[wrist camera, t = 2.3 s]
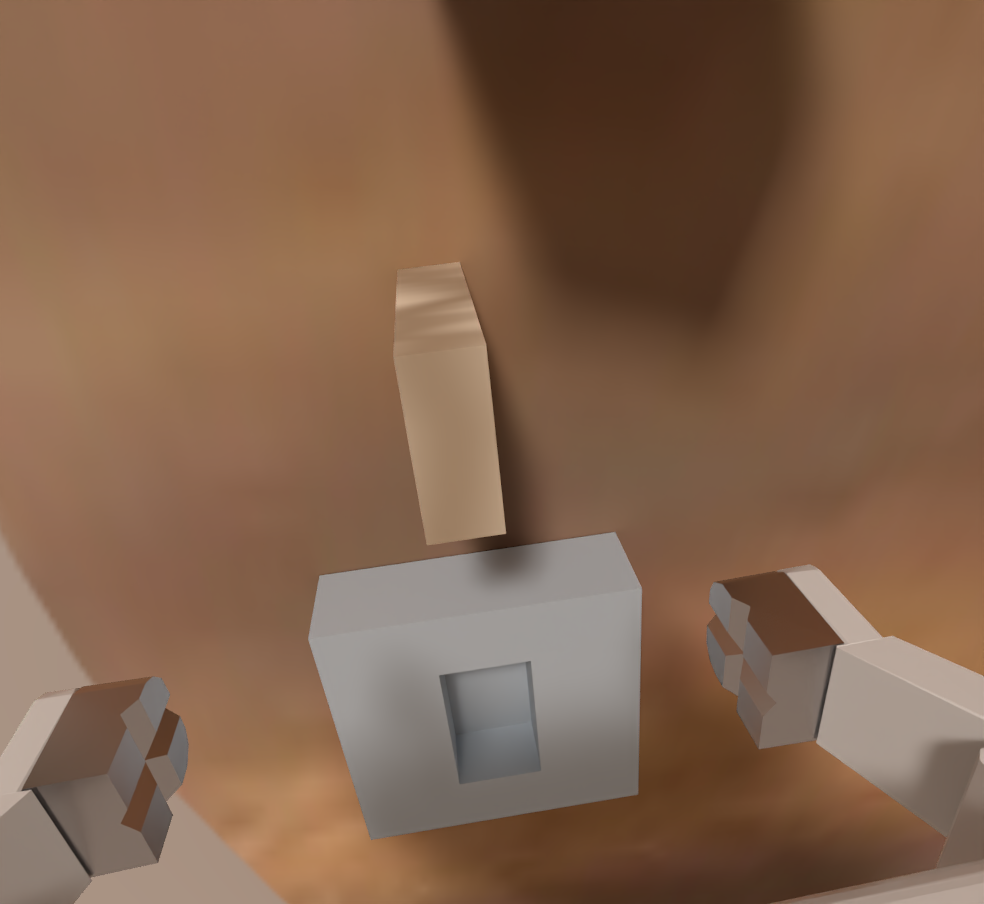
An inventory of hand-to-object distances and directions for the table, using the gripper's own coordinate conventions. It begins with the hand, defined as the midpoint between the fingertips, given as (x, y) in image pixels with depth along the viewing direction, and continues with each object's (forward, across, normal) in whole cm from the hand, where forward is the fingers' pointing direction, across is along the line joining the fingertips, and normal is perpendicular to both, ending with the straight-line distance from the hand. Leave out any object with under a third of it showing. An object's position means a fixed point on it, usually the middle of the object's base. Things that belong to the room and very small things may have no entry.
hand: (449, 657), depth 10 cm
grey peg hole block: (+14, -1, +15) cm, 21 cm away
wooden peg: (+14, -1, 0) cm, 14 cm away
